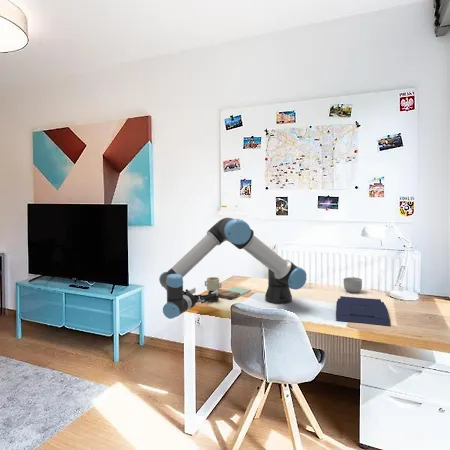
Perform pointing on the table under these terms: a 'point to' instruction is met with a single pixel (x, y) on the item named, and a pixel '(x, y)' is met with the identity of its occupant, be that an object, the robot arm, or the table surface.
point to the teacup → (352, 284)
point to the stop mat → (238, 290)
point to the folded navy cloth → (362, 310)
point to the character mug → (213, 285)
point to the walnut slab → (227, 294)
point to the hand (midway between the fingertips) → (205, 291)
